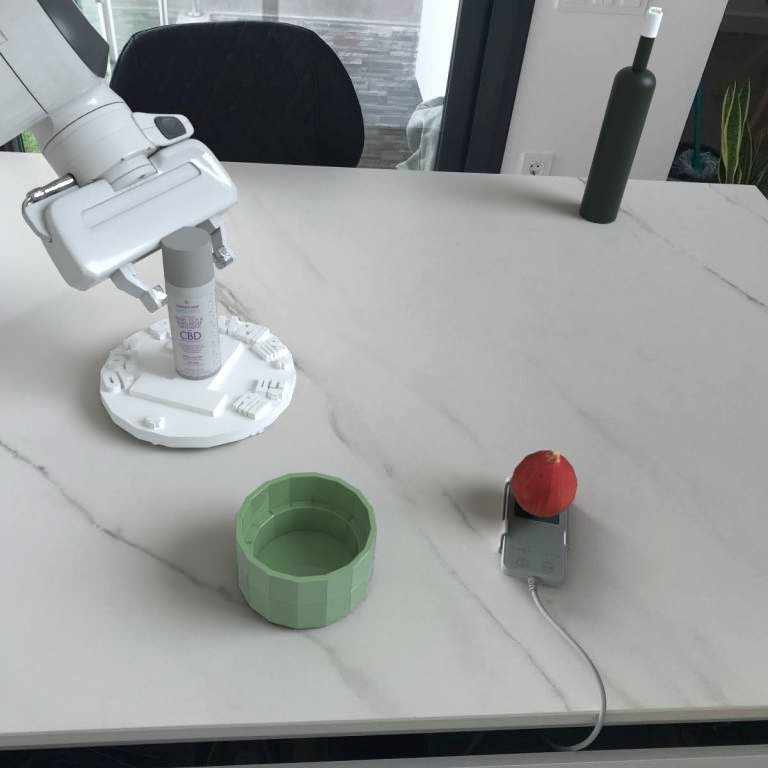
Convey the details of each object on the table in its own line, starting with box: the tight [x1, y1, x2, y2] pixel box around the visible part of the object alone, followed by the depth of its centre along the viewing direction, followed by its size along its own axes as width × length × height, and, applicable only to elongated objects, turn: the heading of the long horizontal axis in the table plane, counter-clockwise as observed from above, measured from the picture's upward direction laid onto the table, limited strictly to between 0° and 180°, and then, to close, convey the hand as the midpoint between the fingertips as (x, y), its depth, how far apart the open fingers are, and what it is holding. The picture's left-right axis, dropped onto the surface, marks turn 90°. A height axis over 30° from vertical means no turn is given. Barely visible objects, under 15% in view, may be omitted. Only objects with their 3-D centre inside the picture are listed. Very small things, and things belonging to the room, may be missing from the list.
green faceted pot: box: [235, 471, 378, 630], centre depth 63 cm, size 11×11×6 cm
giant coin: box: [99, 314, 297, 448], centre depth 81 cm, size 20×20×3 cm
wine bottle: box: [578, 5, 664, 224], centre depth 111 cm, size 6×6×30 cm
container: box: [161, 226, 221, 380], centre depth 76 cm, size 5×5×15 cm
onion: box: [511, 449, 579, 518], centre depth 70 cm, size 6×6×8 cm
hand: (196, 285), depth 74 cm, fingers open, 8 cm apart
